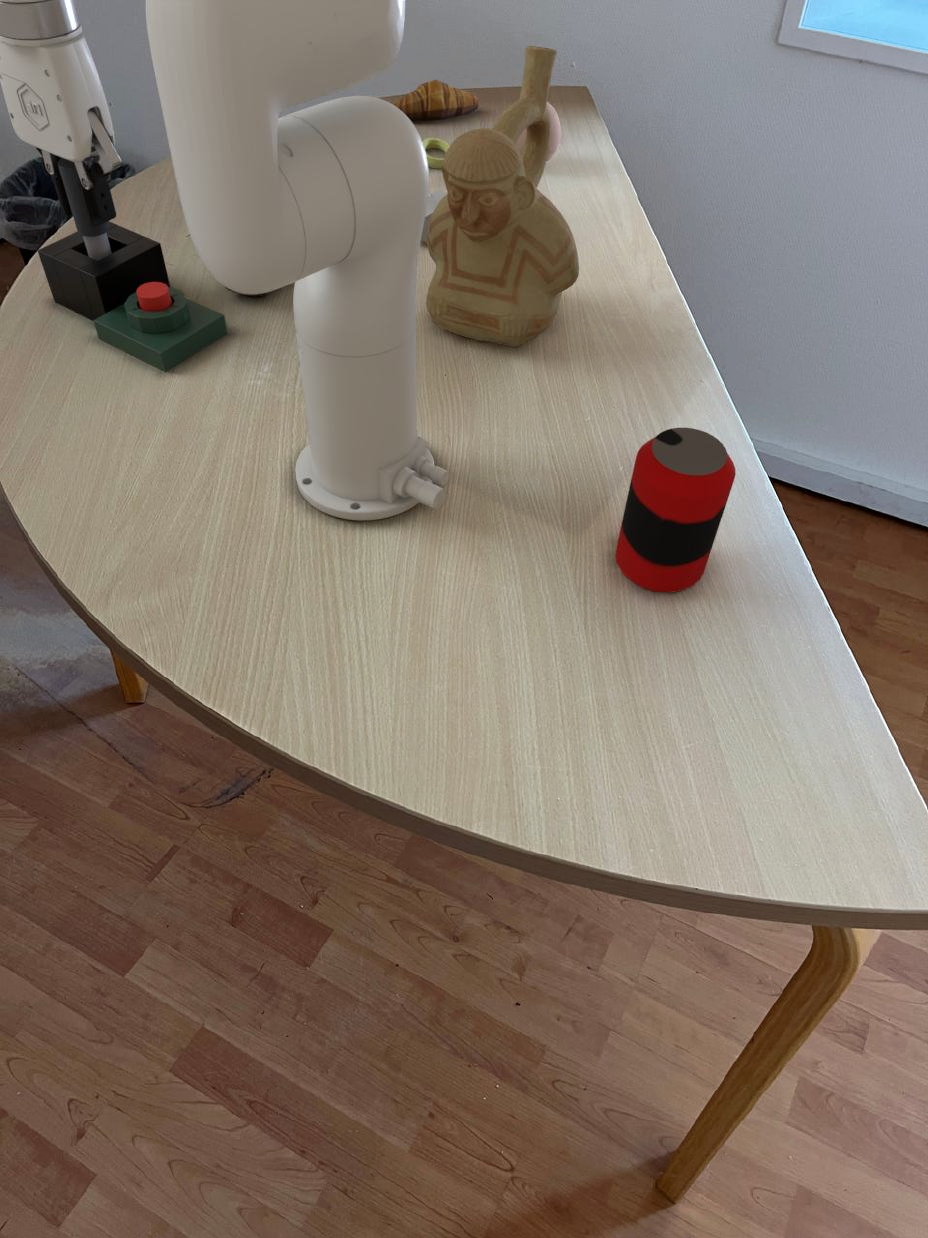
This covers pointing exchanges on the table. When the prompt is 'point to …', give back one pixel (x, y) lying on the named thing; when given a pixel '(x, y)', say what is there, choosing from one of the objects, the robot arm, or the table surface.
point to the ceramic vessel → (501, 225)
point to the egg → (554, 134)
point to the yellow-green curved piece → (435, 144)
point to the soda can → (674, 509)
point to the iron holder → (101, 271)
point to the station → (161, 330)
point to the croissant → (436, 101)
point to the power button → (154, 297)
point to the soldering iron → (83, 212)
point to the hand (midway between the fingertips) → (89, 214)
